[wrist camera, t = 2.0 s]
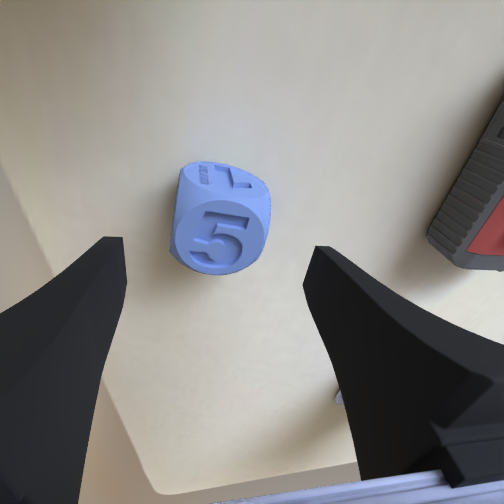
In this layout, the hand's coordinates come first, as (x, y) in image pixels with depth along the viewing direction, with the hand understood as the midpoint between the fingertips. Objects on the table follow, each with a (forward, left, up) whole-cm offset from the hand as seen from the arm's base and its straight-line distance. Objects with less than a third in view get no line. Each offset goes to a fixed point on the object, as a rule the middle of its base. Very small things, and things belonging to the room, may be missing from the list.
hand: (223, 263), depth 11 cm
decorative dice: (0, 0, -6) cm, 6 cm away
